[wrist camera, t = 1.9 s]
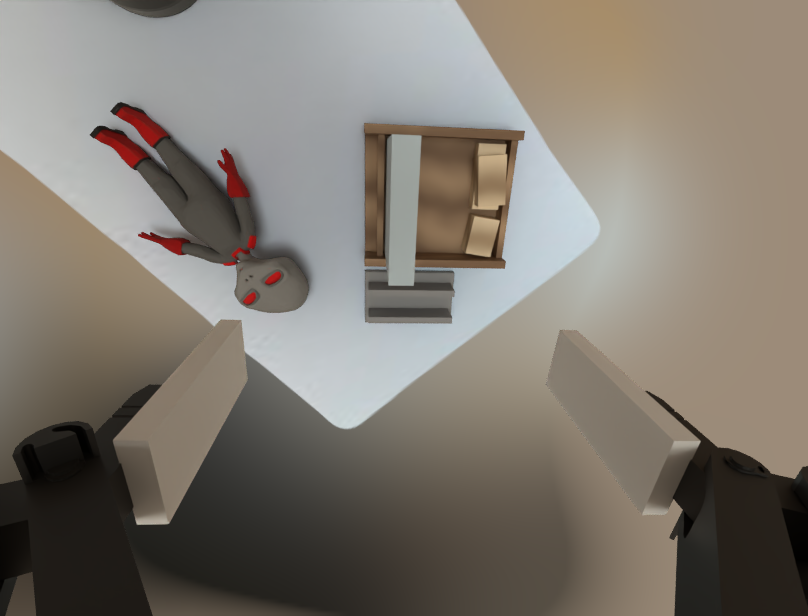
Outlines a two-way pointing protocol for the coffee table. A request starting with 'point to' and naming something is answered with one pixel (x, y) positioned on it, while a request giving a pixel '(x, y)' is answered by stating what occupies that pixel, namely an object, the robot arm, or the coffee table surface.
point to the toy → (208, 215)
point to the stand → (409, 298)
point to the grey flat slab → (401, 207)
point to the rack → (436, 193)
